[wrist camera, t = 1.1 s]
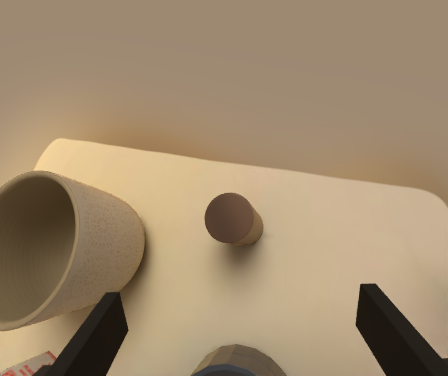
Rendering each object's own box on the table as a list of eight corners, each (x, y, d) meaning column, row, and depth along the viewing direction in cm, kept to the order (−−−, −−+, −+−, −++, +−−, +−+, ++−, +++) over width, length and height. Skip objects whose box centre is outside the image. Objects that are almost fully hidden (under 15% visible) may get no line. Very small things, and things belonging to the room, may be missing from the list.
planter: (122, 323, 35) (8, 373, 21) (59, 263, 41) (-62, 271, 27) (177, 226, 37) (108, 210, 22) (109, 182, 43) (20, 149, 28)
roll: (250, 201, 34) (236, 183, 25) (270, 232, 32) (263, 225, 23) (220, 220, 35) (196, 209, 26) (238, 252, 33) (219, 253, 24)
